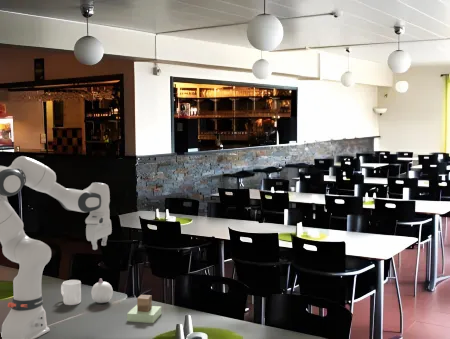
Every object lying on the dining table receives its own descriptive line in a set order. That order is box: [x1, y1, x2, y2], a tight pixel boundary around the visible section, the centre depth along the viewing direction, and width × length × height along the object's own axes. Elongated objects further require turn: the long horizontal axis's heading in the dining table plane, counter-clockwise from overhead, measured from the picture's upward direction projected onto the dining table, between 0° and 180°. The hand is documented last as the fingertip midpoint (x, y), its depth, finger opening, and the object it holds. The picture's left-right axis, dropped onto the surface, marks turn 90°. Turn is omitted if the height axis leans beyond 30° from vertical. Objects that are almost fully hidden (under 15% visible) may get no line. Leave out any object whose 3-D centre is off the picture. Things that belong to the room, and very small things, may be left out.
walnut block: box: [136, 294, 153, 312], centre depth 249 cm, size 5×5×6 cm
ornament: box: [90, 278, 114, 304], centre depth 269 cm, size 10×10×12 cm
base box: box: [126, 304, 162, 324], centre depth 249 cm, size 12×12×4 cm
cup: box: [60, 279, 82, 306], centre depth 270 cm, size 8×12×10 cm
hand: (99, 247), depth 255 cm, fingers open, 8 cm apart
